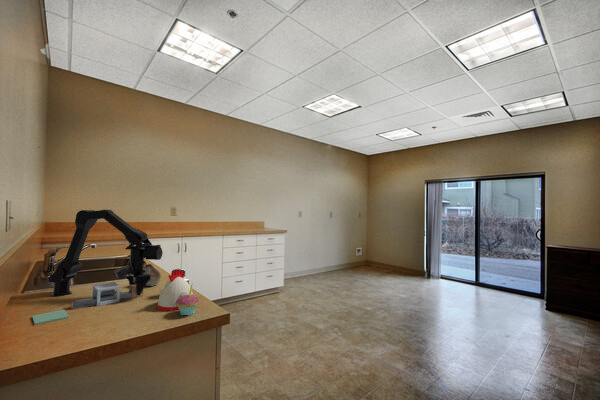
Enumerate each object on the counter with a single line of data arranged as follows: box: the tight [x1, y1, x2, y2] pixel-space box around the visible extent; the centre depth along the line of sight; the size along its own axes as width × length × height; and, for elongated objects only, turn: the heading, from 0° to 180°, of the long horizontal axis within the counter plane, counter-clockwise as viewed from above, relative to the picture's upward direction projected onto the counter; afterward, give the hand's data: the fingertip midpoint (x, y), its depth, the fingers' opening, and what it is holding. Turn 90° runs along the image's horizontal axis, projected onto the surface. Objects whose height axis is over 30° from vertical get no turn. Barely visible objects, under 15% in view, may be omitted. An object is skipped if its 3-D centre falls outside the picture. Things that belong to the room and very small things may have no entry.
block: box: [128, 284, 144, 300], centre depth 127 cm, size 4×4×5 cm
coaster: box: [31, 309, 70, 326], centre depth 101 cm, size 9×9×1 cm
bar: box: [71, 290, 132, 310], centre depth 118 cm, size 3×20×3 cm, turn 135°
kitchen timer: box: [156, 268, 194, 312], centre depth 118 cm, size 14×14×15 cm
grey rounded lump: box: [144, 262, 162, 287], centre depth 145 cm, size 10×9×12 cm
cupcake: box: [175, 283, 200, 316], centre depth 109 cm, size 9×8×12 cm
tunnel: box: [91, 282, 121, 307], centre depth 119 cm, size 8×8×7 cm
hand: (135, 293), depth 128 cm, fingers open, 8 cm apart
